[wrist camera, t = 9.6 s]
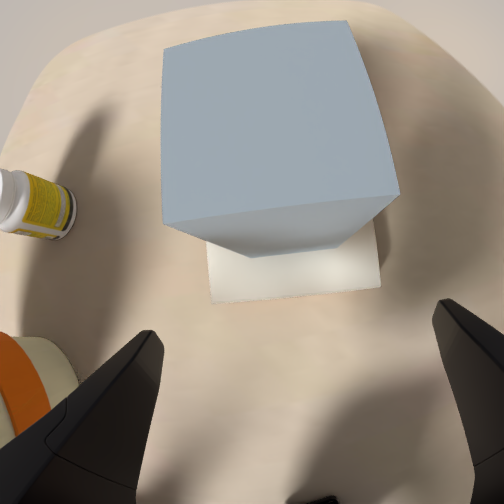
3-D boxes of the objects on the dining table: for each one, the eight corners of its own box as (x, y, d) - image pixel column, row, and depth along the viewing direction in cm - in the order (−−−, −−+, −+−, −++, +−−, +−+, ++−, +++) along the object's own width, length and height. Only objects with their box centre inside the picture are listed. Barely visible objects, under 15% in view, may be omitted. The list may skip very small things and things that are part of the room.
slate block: (336, 248, 18) (400, 194, 6) (250, 258, 18) (162, 223, 7) (324, 165, 18) (346, 20, 6) (242, 176, 19) (163, 49, 7)
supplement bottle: (69, 177, 24) (1, 148, 16) (85, 219, 23) (11, 197, 15) (37, 209, 24) (-30, 191, 16) (51, 251, 24) (-22, 241, 15)
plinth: (371, 286, 20) (381, 287, 17) (221, 301, 21) (211, 304, 19) (350, 142, 20) (355, 126, 18) (210, 159, 22) (200, 146, 19)
